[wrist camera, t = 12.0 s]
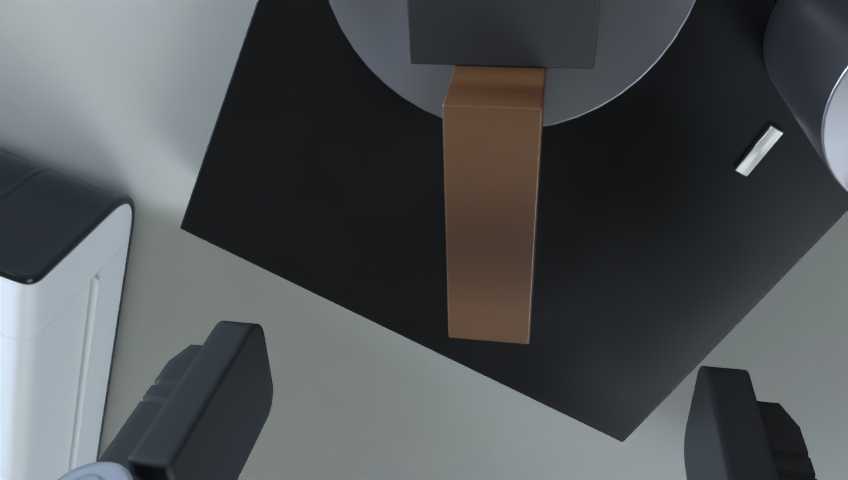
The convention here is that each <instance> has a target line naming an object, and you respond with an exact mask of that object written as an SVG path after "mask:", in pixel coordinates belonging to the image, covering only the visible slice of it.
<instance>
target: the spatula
mask: <svg viewBox="0 0 848 480" xmlns="http://www.w3.org/2000/svg"><path fill="white" fill-rule="evenodd" d="M406 1H407V19H408V38H409V57H410V63H411V64H432V65H455V68H454V71H453V74H452V77H451V80H450V83H449V86H448V90H447V93H446V96H445V99H444V102H443V105H442V116H443V152H444V188H445V225H446V261H447V297H448V333H449V337H450V338H462V339H474V340H485V341H497V342H509V343H521V344H529V342H530V328H531V315H532V301H533V288H534V272H535V255H536V238H537V221H538V205H539V188H540V171H541V155H542V138H543V121H544V104H545V88H546V71H547V68H572V69H593V68H594V62H595V52H596V42H597V32H598V22H599V12H600V2H601V0H406Z"/></svg>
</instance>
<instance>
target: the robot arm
mask: <svg viewBox="0 0 848 480" xmlns="http://www.w3.org/2000/svg"><path fill="white" fill-rule="evenodd" d="M272 398H273V383H272V377H271V371H270V365H269V360H268V354H267V348H266V342H265V336H264V332H263V329H262V327H261V325H259V324H253V323H242V322H231V321H220V322H219V323H217V325H216V326H215V327H214V329H213V330H212V332H211V333H210V335H209V336H208V338H207V339H206V341H205V342H204V344H203V345H202V346H201V345H190V346H188V347H187V348H186V349H184V350H183V351H182V352H180V353H179V354H178V355H176V356H175V357H174V358H172V359H171V360H170V361H168V363H167V364H166V366H165V367H164V368H163V370H162V371H161V373H160V374H159V376H158V377H157V378H156V380H155V384H154V385H152V386H151V387H150V388H149V390H148V391H147V393H146V394H145V396H144V397H143V402H140V403H139V404H138V406H137V407H136V408H135V410H134V411H133V413H132V414H131V416H130V417H129V418H128V420H127V421H126V423H125V424H124V425H123V427H122V428H121V430H120V431H119V433H118V434H117V435H116V437H115V438H114V440H113V441H112V443H111V444H110V445H109V447H108V448H107V450H106V451H105V453H104V454H103V455H102V457H101V458H100V460H99V461H98V462H94V463H89V464H86V465H83V466H80V467H78V468H75V469H73V470H71V471H70V472H68V473H66V474H65V475H63V476H62V477H60V478H59V479H58V480H237V479H238V477H239V475H240V473H241V471H242V469H243V467H244V465H245V463H246V461H247V459H248V457H249V455H250V453H251V451H252V449H253V447H254V444H255V442H256V440H257V438H258V436H259V434H260V432H261V430H262V428H263V426H264V424H265V422H266V420H267V418H268V415H269V412H270V409H271V405H272ZM684 459H685V469H686V475H687V480H817V479H815V471H814V468H813V465H812V462H811V459H810V458H808V451H807V448H806V445H805V442H804V439H803V436H802V433H801V430H800V427H799V426H798V425H797V424H796V422H795V421H794V420H793V419H792V418H791V417H790V415H789V414H788V413H787V412H786V411H785V410H784V409H783V407H782V406H781V405H780V404H779V403H770V402H760V401H757V400H756V396H755V393H754V389H753V386H752V382H751V379H750V375H749V373H748V372H747V370H741V369H730V368H719V367H708V366H701V367H700V369H699V371H698V375H697V380H696V384H695V389H694V394H693V398H692V403H691V408H690V412H689V417H688V422H687V426H686V432H685V442H684Z"/></svg>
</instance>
